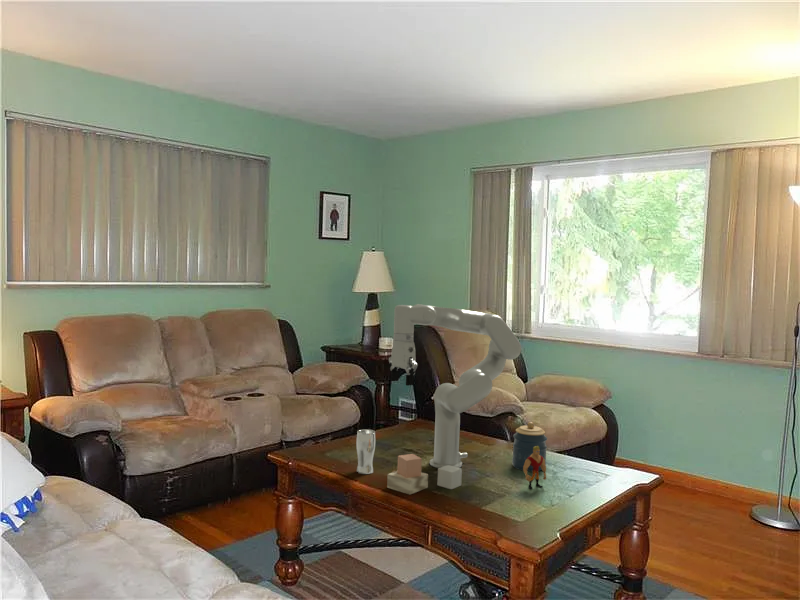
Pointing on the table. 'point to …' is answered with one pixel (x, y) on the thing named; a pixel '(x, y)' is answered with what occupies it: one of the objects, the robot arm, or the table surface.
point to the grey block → (449, 477)
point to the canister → (528, 444)
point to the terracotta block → (409, 465)
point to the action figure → (534, 466)
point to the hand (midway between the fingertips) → (401, 383)
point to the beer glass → (365, 450)
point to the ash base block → (407, 482)
